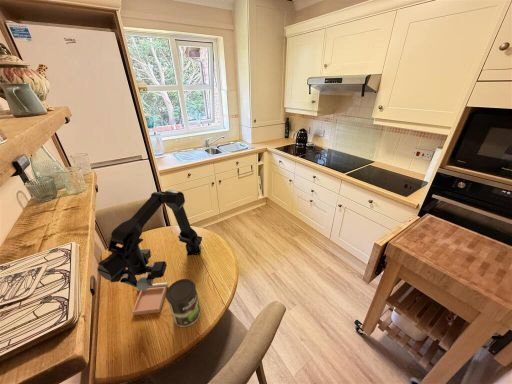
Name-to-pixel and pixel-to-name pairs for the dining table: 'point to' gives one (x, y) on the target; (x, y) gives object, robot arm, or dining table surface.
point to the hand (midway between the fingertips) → (144, 285)
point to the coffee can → (183, 302)
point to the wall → (158, 285)
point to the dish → (149, 301)
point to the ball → (142, 283)
